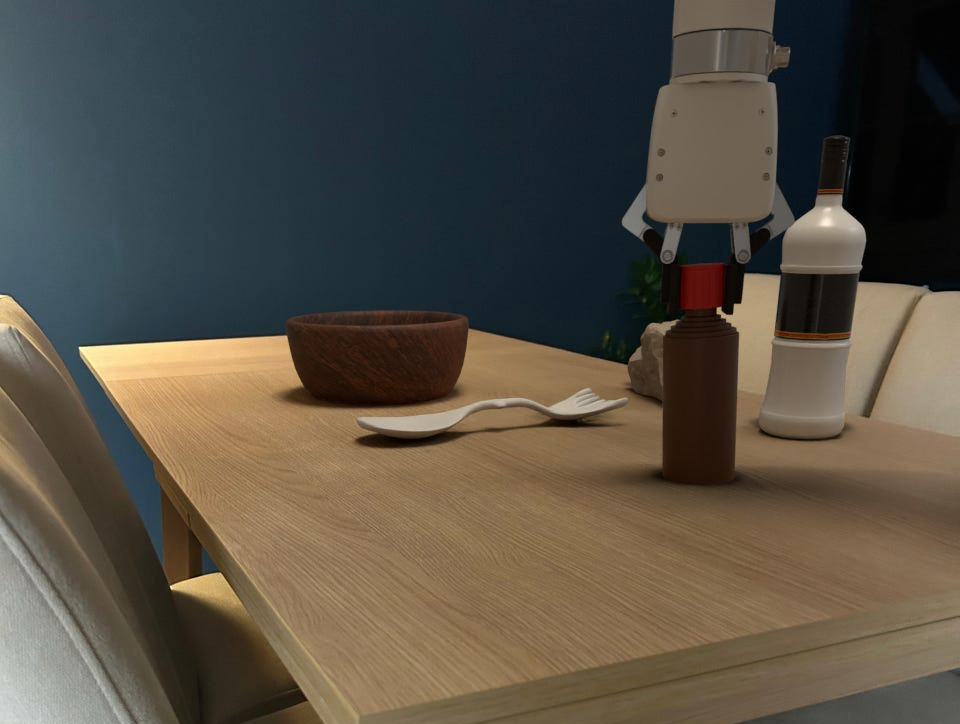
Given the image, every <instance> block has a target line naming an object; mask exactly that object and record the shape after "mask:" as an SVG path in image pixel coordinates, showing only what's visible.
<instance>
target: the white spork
mask: <svg viewBox="0 0 960 724" xmlns="http://www.w3.org/2000/svg"><path fill="white" fill-rule="evenodd" d="M600 398H601V397H600V396H598V395H597V396H596V393H594V392H593V390H592V388H589V387H587V388H583V389H581V390H579V391H578V392H576V393H574V394H573V395H570V396H569V397H567V398H566V399H564V400H562V401H558V402H557V403H554V404H553V405H550V406H548V407H547V406H545V405H542V404H540V403H539V402H536V401H534V400H532V399H529V398H524V397H508V398H492V399H485V400H480V401H477V402H473V403H470V404H468V405H465V406H461V407H458V408H455V409H451V410H447V411H441V412H435V413H427V414H416V415H408V416H359V417H357V418H356V423H357V425H358V427H360V428H361V429H363V430H366V431H369V432H372V433H376V434H379V435H382V436H387V437H391V438H397V439H404V440H405V439H406V440H418V439H424V438H429V437H432V436H435V435H438V434H441V433H444V432H445V431H447V430H450V429H452V428H453V427H455V426H456V425H458V424H459V423H461V422H462V421H463V420H465V419H466V418H468V416H471V415H474V414H476V413H479V412H482V411H488V410H489V411H490V410H503V409H513V408H525V409H529V410H532V411H535V412H537V413H539V414H542V415H544V416H545V417H548V418H550V419H555V420H559V421H560V420H561V421H575V420H580V419H585V418H590V417H593V416H597V415H600V414H604V413H607V412H612V411H614V410H618V409H621V408H623V407H625V406H627V405H628V403H629V399H628V397H622V398H619V399H615V400H612V399H610V400H606V399H600Z"/></svg>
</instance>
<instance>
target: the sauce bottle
mask: <svg viewBox="0 0 960 724" xmlns="http://www.w3.org/2000/svg"><path fill="white" fill-rule="evenodd" d="M678 320H679V321H676V325H673V326H671V329H670V330H667V331H666V332H665V335H664V336H663V401H662V451H661V452H662V453H661V454H662V455H661V457H662V460H661V461H662V463H661V464H662V465H661V466H662V472H661V474H662V477H663V478H665V479H667V480H669V481H672V482H677V483H682V484H689V485H718V484H726V483H730V482H732V481H734V480H735V477H736V476H735V473H736V449H737V447H736V445H737V444H736V443H737V417H738V415H737V414H738V412H737V411H738V387H739V379H738V378H739V356H740V355H739V353H740V351H739V350H740V332H739V331H738V329H737V326H733V325H732V322H729V321H727V318H726V317H725V318H724V317H722V314H720V313H718V308H710V309H685V315H682V316H680V319H678Z"/></svg>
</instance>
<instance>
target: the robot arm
mask: <svg viewBox="0 0 960 724" xmlns="http://www.w3.org/2000/svg"><path fill="white" fill-rule="evenodd" d="M775 7H776V0H674V3H673V17H672V34H671V51H670V65H669V82H668V84H666V85H663V86H661V87H659V90H658V94H657V98H656V101H655V106H654V111H653V117H652V122H651V131H650V136H649V137H650V138H649V148H648V157H647V165H646V177H645V184H644V185H643V186H642V188H641V190H640V191H639V193H638V195H637V196H636V197H635V199H634V200H633V202H632V204H631V205H630V206H629V208H628V209H627V211H626V213H625V214H624V215H623V217H622V219H621V225H622V227H623V228H625V229H626V230H627V231H628V232H630V233H631V234H633V235H634V236H636V237H637V238H638V239H640V240H641V241H642V242H644V243H645V244H646V246H647V247H648V248H649V249H650V250H651V251H652V252H653V254H654V255H655V256H656V257H657V258H658V260H659V261H661V277H660V279H661V280H660V293H659V304H660V305H666V313H667V315H669V316H670V315H672V316H673V315H676V314H678V309H679V308H678V296H679V282H680V268H681V265H680V264H679V255H678V254H677V251H678V247H679V244H680V243H679V242H680V239H681V236H682V231H683V227H684V224H728V227H729V237H730V248H731V253H730V254H729V255H728V262H727V264H726V263H725V270H726V278H725V301H724V306H723V307H720V311H721V312H722V313H723V314H725V316H733V315H734V312H735V311H734V309H735V305H741V304H742V302H743V294H744V285H745V283H744V282H745V274H746V273H745V272H746V264H747V263H748V262H749V261H750V260H751V258H753V257H754V256H755V255H756V254H757V253H758V252H759V251H760V250H761V249H762V248H763V247H764V246H765V245H766V244H768V242H769V241H771V240H772V239H774V238H775V237H778V236H779V235H780V234H782V233H784V232H786V231H787V229H788V228H790V227H791V226H792V225H793V224H794V222H796V219H795V216H794V214H793V211H792V210H791V208H790V206H789V204H788V202H787V200H786V198H785V196H784V194H783V192H782V190H781V188H780V187H779V185H778V183H777V165H778V163H777V161H778V133H779V132H778V131H779V123H778V122H779V121H778V100H777V99H778V97H777V88H776V84H775V83H774V82H770V81H768V79H769V76H770V74H771V73H772V72H773V70H778V69H779V68H788V66H789V64H790V63H789V62H790V56H791V47H790V46H781V45H780V44H778V45H776V41H774V35H773V29H774V19H775V18H774V17H775ZM645 213H646V215H647V217H648V218H650V219H651V220H653V221H654V222H657V223H664V224H665V229H664V233H663V237H662V236H661V235H660V234H659V233H658V231H656V230H655V229H654V228H653V227H652V226H650V225H649V224H648V223H646V222H645V221H644V219H643V215H644V214H645ZM770 214H771V218H770V219H769V221H767V222H766V223H765V224H763V225H762V226H760V227H759V228H757V229H755V230H754V231H753V232H751V234H750V230H749V229H750V227H749V223H754V222H758V221H761V220H764V219H765V218H767V217H769V215H770Z"/></svg>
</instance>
